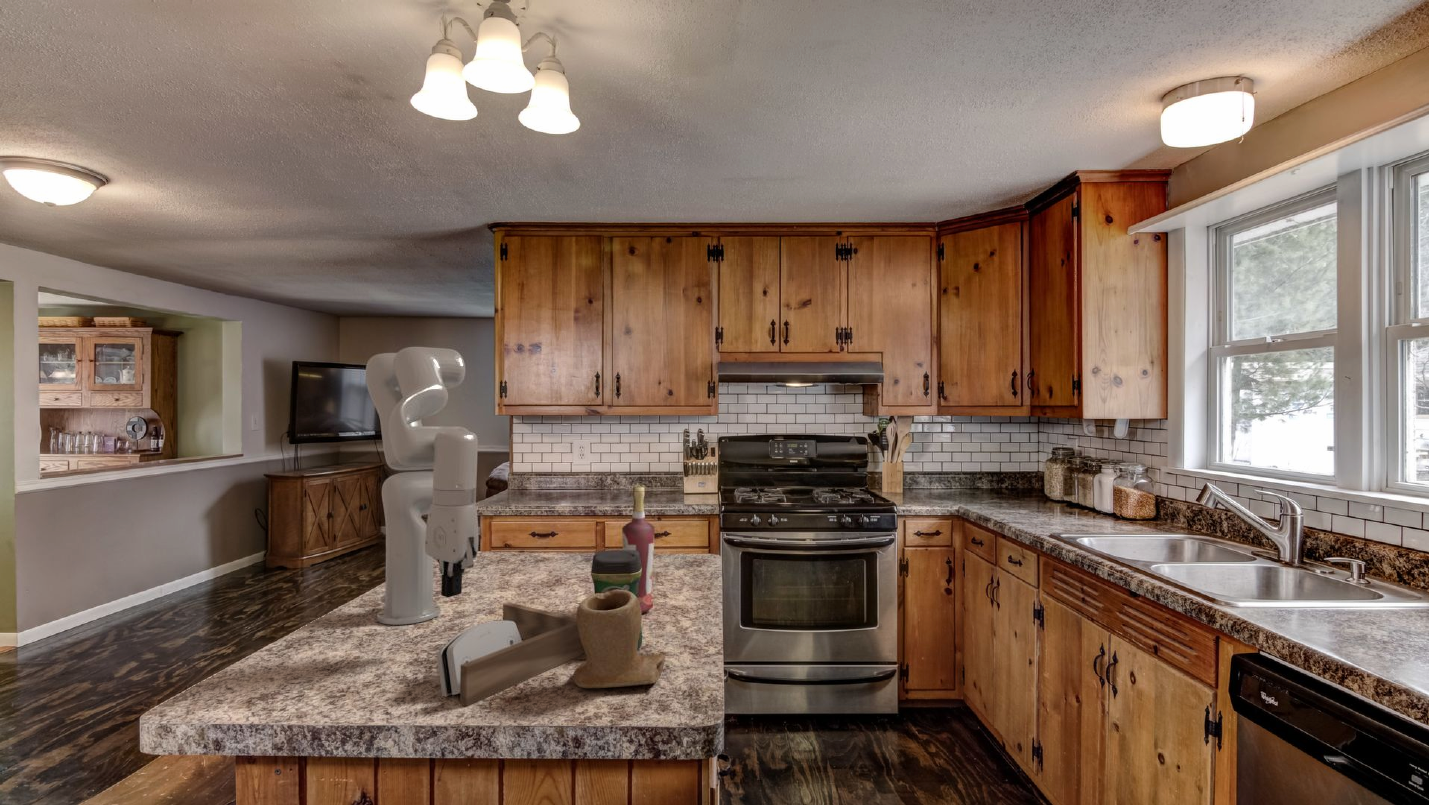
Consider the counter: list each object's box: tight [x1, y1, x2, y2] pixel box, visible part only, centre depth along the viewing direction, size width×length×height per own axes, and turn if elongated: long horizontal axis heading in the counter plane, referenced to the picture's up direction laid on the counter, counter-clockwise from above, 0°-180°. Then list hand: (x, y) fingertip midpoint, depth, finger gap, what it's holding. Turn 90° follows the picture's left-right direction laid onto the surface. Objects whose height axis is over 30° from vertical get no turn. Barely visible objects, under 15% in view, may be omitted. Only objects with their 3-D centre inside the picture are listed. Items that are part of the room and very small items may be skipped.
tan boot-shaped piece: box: [572, 590, 666, 689], centre depth 106 cm, size 15×12×15 cm
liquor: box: [621, 486, 656, 614], centre depth 145 cm, size 7×7×28 cm
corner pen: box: [459, 602, 586, 708], centre depth 114 cm, size 22×26×6 cm
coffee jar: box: [590, 549, 643, 651], centre depth 122 cm, size 10×8×19 cm
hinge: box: [436, 620, 523, 698], centre depth 108 cm, size 17×5×10 cm, turn 157°
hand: (451, 594), depth 120 cm, fingers closed
